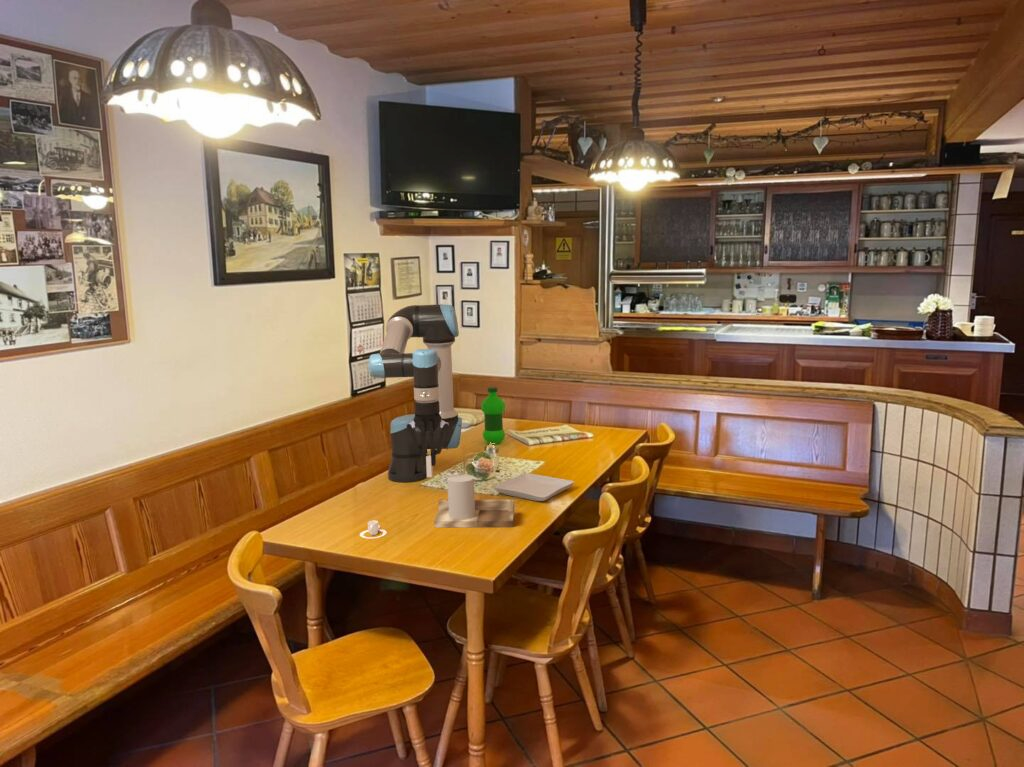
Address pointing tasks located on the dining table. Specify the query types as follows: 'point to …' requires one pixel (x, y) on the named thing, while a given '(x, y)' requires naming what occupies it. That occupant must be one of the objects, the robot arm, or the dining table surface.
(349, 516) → the dining table surface
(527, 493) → the salad plate
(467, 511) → the beige cylinder
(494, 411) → the plastic bottle
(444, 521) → the rail board
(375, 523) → the white looped ring
